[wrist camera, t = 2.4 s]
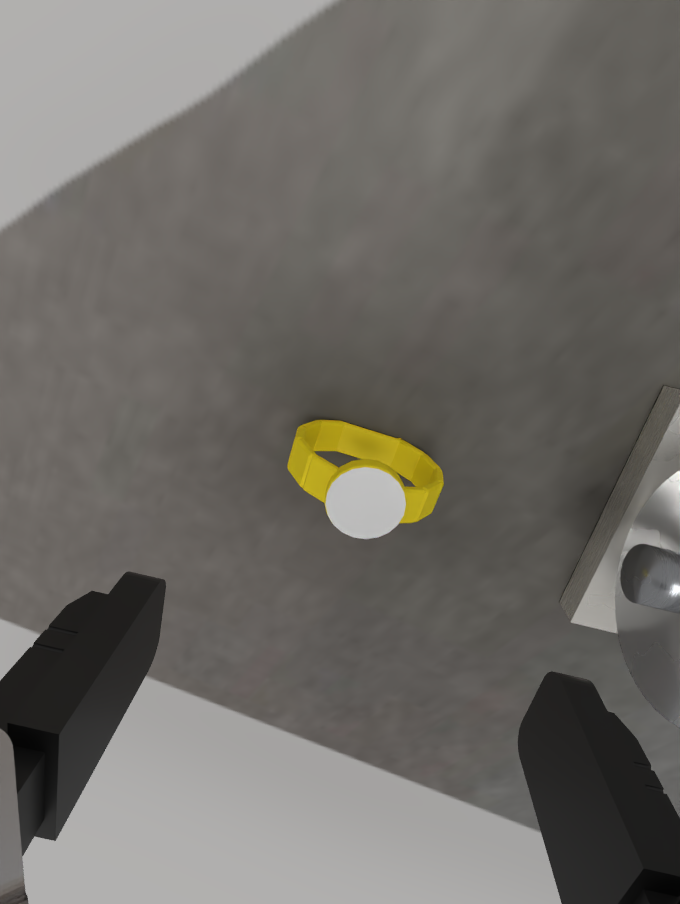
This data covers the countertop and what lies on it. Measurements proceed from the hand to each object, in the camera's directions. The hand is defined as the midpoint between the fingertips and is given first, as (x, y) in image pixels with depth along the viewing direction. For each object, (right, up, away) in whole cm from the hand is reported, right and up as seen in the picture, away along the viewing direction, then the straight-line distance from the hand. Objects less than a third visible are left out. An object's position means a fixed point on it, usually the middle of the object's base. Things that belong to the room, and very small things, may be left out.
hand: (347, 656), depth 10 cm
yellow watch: (+1, +5, +12) cm, 13 cm away
